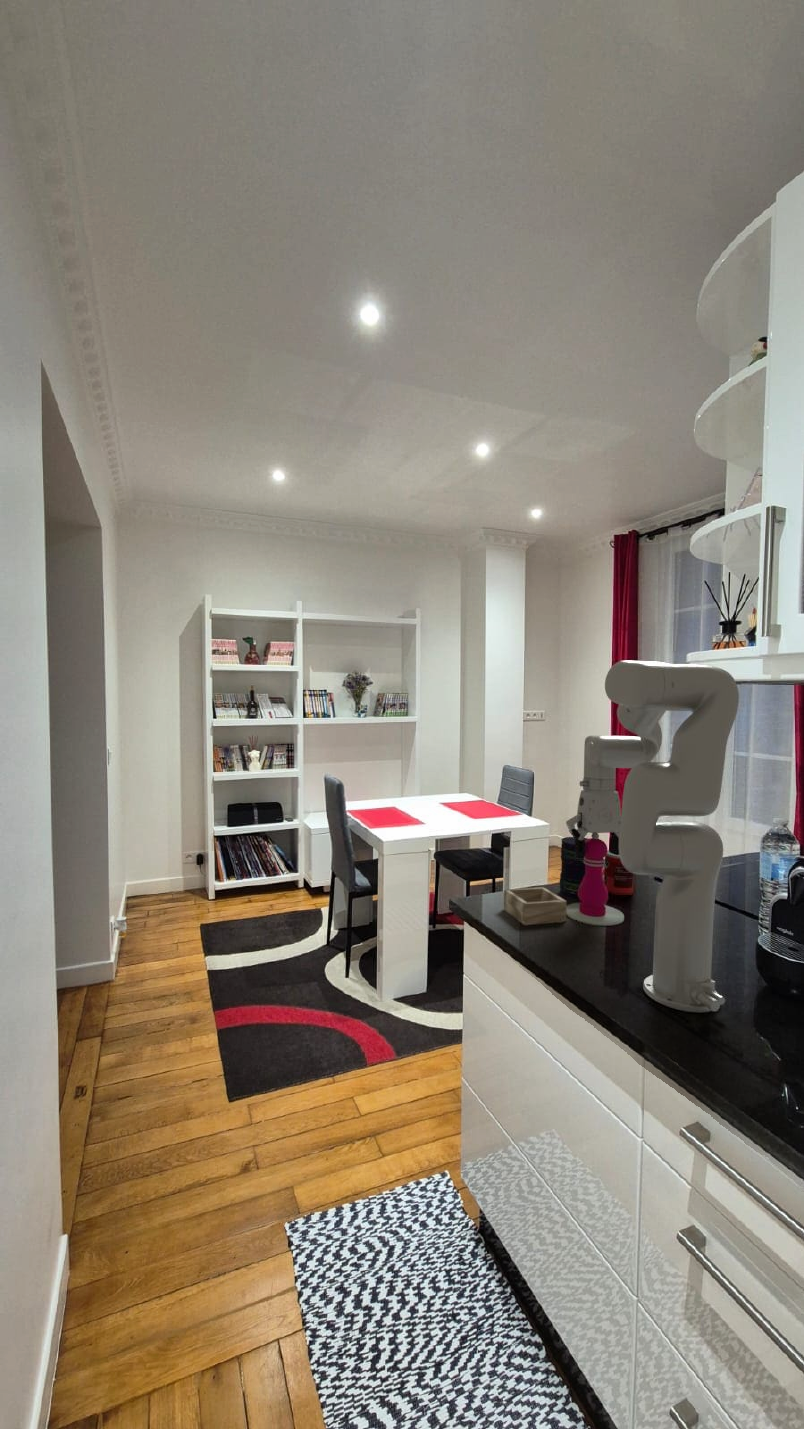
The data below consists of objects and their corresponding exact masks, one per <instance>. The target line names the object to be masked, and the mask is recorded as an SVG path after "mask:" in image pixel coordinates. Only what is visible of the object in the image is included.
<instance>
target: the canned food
mask: <svg viewBox="0 0 804 1429" xmlns="http://www.w3.org/2000/svg"><path fill="white" fill-rule="evenodd" d="M607 850H608V851H607V855H606V856H605V857H604V859H605V862H604V863H605V865H604V866H603V869H604V874H603V880H604V883H605V885H606V888H607V891H608V894H609V893H611V894H610V895H612V894H613V896H616V895H630V896H632V895H633V893H634V877H635V874H634V873H631V872H629V871H628V870H626V869H625V868H624V866H623V865H622V863H621V860H620V856H619V855H615V854H612V853H610V852H609V849H607Z"/></svg>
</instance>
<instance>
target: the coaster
mask: <svg viewBox="0 0 804 1429" xmlns="http://www.w3.org/2000/svg"><path fill="white" fill-rule="evenodd" d="M580 903H581V902H574V903H573V902H572V903H570V904H566V917H568V918H569V919H572V920H574V921H576V920H577V921H576V922H579V923H582V922H583V924H587V925H591V926H603V927H604V926H605V927H606V926H607V927H608V926H616V925H617V926H618V925H620V924H622V923H623V922H624V921H625V915H624V913H623V912H621V910H619V909H617V908H614V907H613V906H609V905H605V904H604V906H605V907H606V914H605V915H604V916H601V917H592V916H587V915H584V914H582V913H581V912H580V911H579V904H580Z"/></svg>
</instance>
